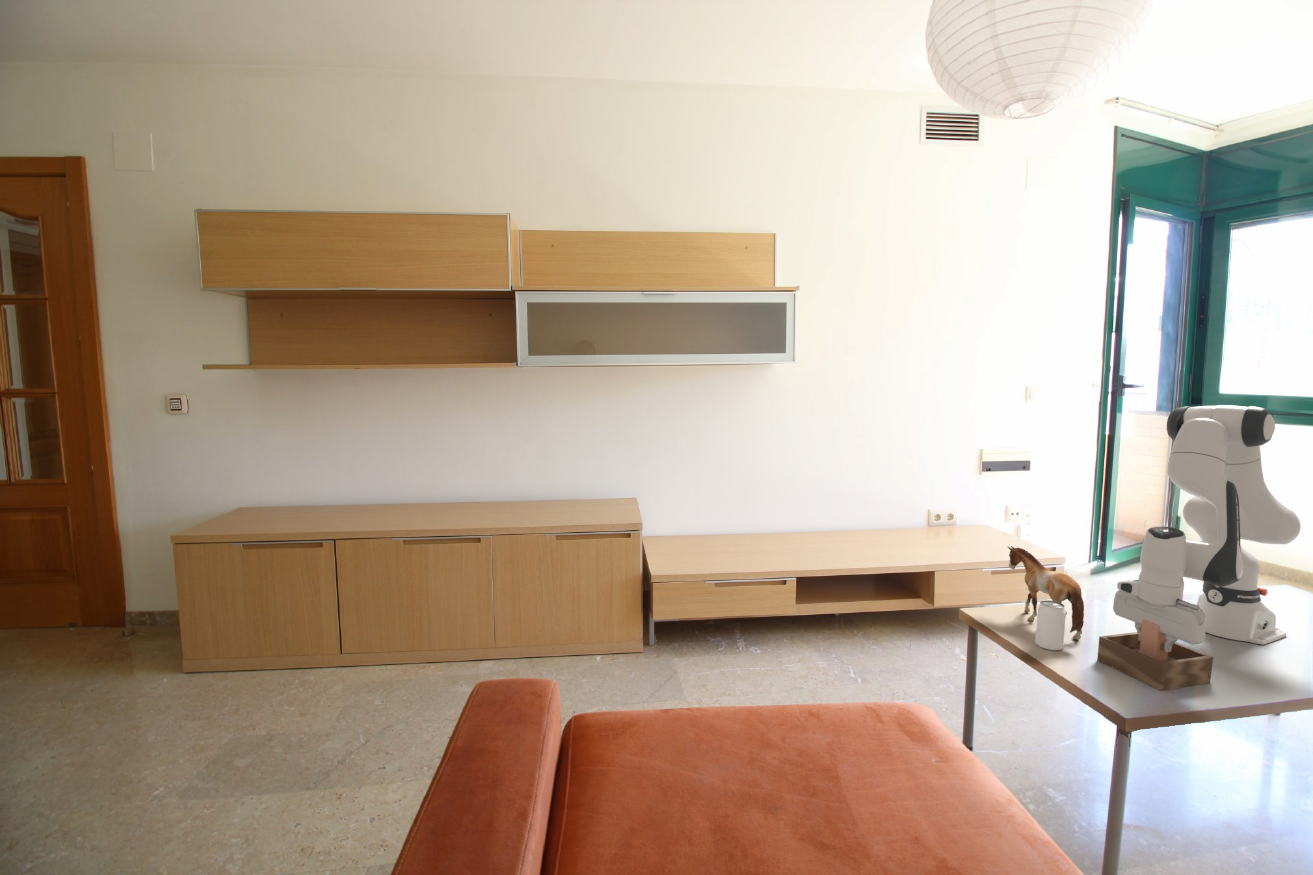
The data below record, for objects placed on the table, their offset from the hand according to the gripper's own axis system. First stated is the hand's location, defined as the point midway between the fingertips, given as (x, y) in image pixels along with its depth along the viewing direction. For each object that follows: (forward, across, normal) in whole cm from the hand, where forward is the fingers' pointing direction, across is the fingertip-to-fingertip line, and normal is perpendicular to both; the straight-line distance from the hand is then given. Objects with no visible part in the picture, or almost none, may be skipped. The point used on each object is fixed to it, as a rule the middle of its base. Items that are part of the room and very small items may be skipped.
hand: (1154, 646), depth 158 cm
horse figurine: (+7, +29, +5) cm, 30 cm away
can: (+7, +18, +13) cm, 23 cm away
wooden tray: (+7, 0, 0) cm, 7 cm away
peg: (+6, 0, 0) cm, 6 cm away
